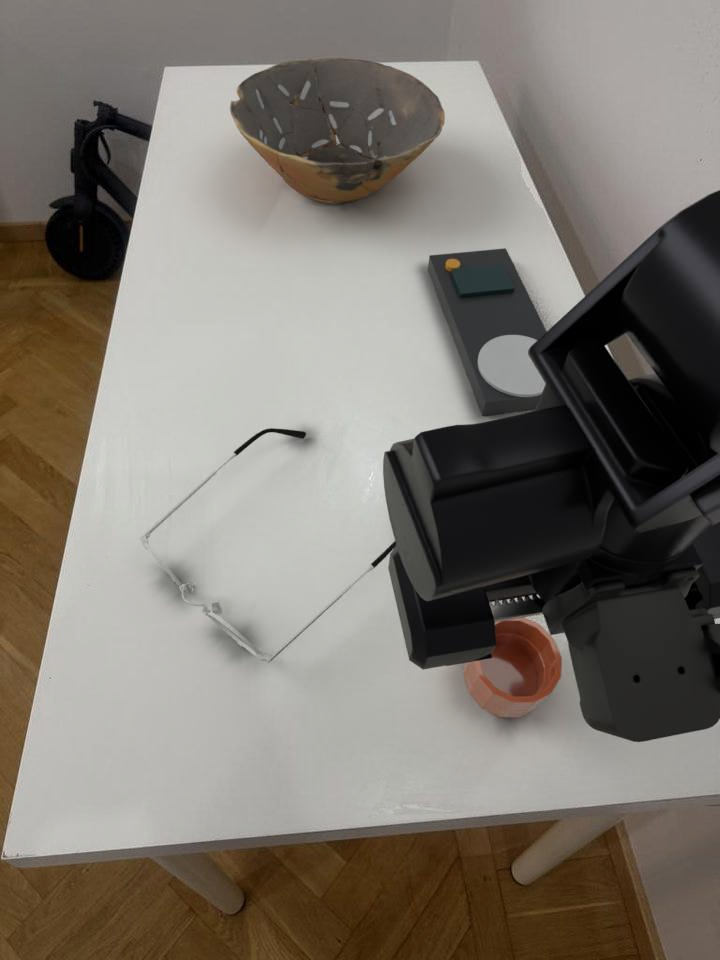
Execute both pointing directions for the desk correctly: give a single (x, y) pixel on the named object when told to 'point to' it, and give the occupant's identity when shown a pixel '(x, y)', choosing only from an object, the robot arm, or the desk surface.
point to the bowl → (337, 124)
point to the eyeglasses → (215, 605)
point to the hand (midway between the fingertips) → (535, 633)
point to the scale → (490, 327)
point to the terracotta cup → (515, 669)
